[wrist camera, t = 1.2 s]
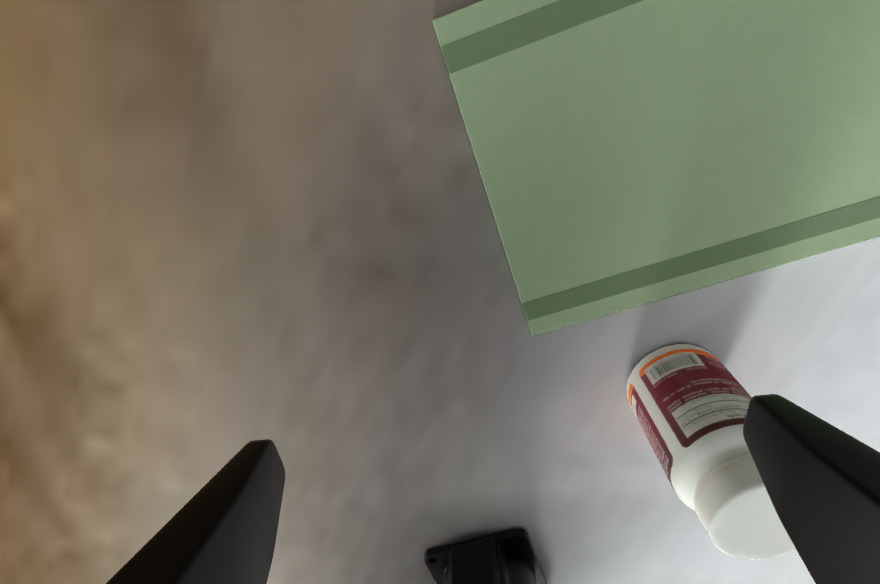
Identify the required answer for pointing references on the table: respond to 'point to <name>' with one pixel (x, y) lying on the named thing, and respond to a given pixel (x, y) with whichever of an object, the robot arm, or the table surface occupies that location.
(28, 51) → the table surface
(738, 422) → the pill bottle
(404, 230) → the table surface
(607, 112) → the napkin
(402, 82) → the table surface
